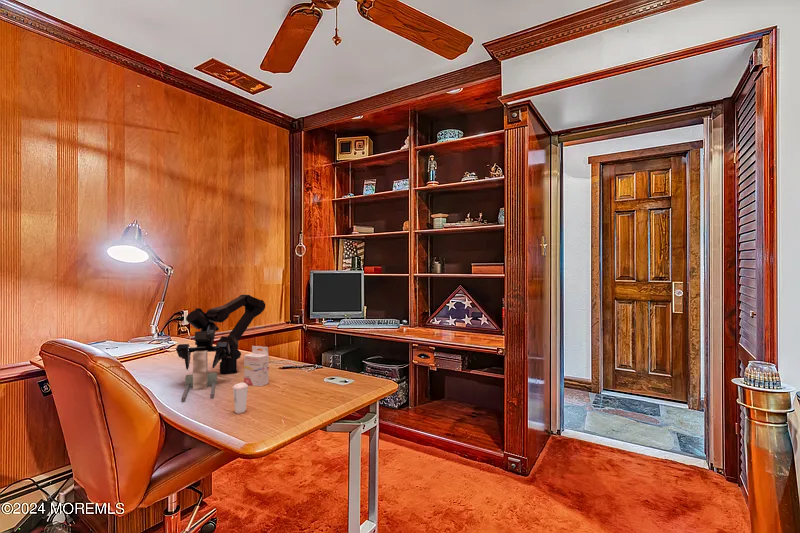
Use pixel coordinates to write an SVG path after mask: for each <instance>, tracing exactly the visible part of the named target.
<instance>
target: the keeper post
mask: <svg viewBox="0 0 800 533" xmlns="http://www.w3.org/2000/svg"><path fill="white" fill-rule="evenodd" d="M208 373H209V371H208V352H207V350H204V351H194V352H192V374H193V387H192V391H203V390H207V388H208V387H209V385H208Z"/></svg>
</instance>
